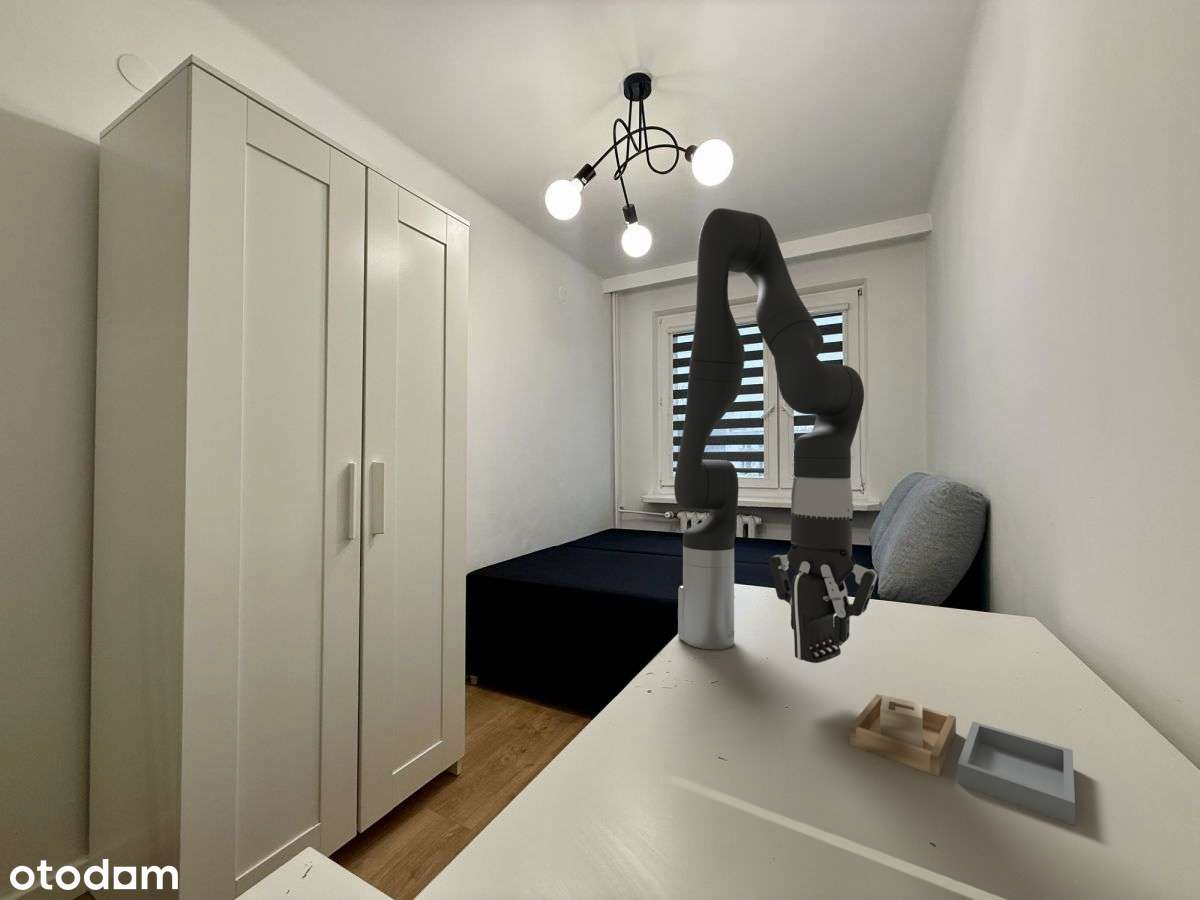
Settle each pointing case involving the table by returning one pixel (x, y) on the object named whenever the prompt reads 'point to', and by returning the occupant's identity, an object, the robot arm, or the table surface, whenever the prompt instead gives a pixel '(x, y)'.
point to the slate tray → (1019, 771)
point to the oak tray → (928, 759)
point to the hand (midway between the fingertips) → (819, 638)
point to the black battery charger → (813, 619)
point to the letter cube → (902, 720)
